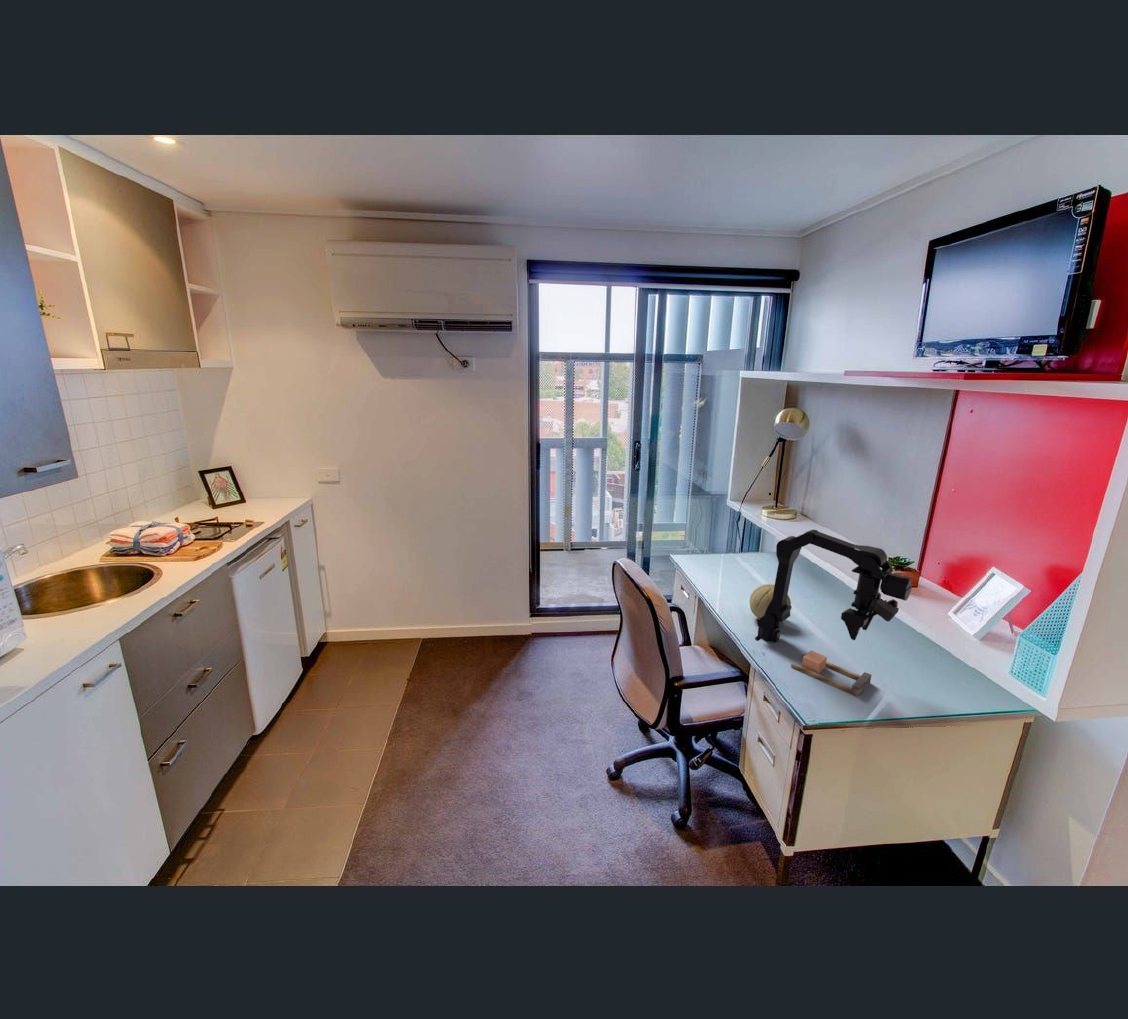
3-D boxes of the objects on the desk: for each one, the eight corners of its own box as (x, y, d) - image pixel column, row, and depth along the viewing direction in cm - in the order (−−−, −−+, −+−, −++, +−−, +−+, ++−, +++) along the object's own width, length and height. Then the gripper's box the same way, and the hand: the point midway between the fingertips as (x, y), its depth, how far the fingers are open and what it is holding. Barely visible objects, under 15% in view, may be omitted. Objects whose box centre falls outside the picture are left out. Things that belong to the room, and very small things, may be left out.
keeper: (801, 667, 159) (803, 657, 158) (809, 660, 163) (811, 650, 162) (817, 674, 156) (819, 663, 155) (825, 667, 160) (827, 656, 159)
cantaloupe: (739, 616, 195) (743, 581, 191) (765, 608, 201) (770, 574, 197) (769, 633, 182) (774, 596, 178) (796, 624, 189) (802, 588, 185)
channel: (790, 669, 160) (792, 659, 159) (804, 658, 167) (805, 648, 166) (857, 699, 146) (859, 688, 145) (869, 686, 152) (871, 674, 151)
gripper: (886, 607, 138) (876, 656, 142) (908, 589, 149) (898, 634, 154) (844, 594, 146) (836, 640, 150) (868, 577, 157) (859, 621, 162)
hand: (858, 634), depth 154 cm, fingers open, 9 cm apart
